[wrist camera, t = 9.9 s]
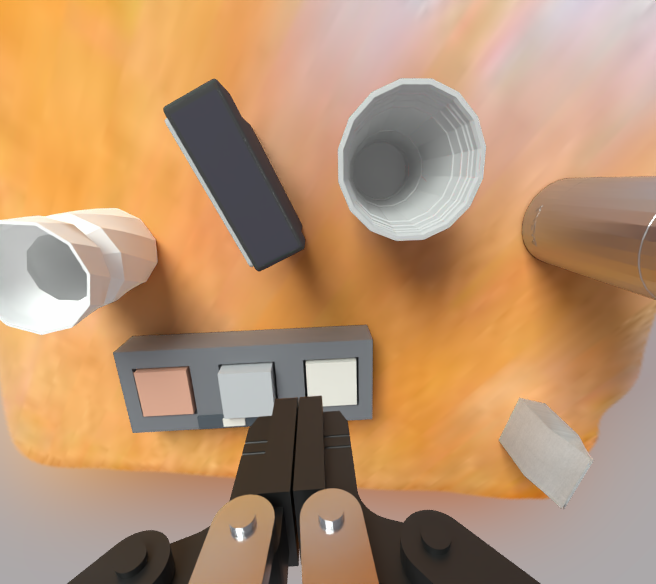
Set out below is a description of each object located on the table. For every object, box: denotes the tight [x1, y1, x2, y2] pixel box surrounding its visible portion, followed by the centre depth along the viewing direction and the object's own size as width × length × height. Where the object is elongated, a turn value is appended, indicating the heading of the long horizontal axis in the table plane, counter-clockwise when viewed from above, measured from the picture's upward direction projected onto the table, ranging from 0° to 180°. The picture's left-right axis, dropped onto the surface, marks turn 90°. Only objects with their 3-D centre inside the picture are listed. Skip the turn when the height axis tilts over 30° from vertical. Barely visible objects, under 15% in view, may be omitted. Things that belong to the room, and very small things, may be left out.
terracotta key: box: [134, 366, 197, 417], centre depth 38 cm, size 5×5×3 cm
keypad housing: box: [113, 325, 373, 433], centre depth 39 cm, size 27×10×4 cm, turn 92°
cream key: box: [306, 357, 357, 406], centre depth 39 cm, size 5×5×3 cm
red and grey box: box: [163, 79, 305, 271], centre depth 28 cm, size 11×4×15 cm, turn 27°
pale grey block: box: [499, 398, 594, 509], centre depth 41 cm, size 4×7×10 cm, turn 165°
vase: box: [0, 208, 158, 335], centre depth 31 cm, size 9×9×12 cm
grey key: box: [218, 362, 277, 419], centre depth 38 cm, size 5×5×3 cm
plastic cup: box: [338, 78, 486, 241], centre depth 30 cm, size 11×11×12 cm
